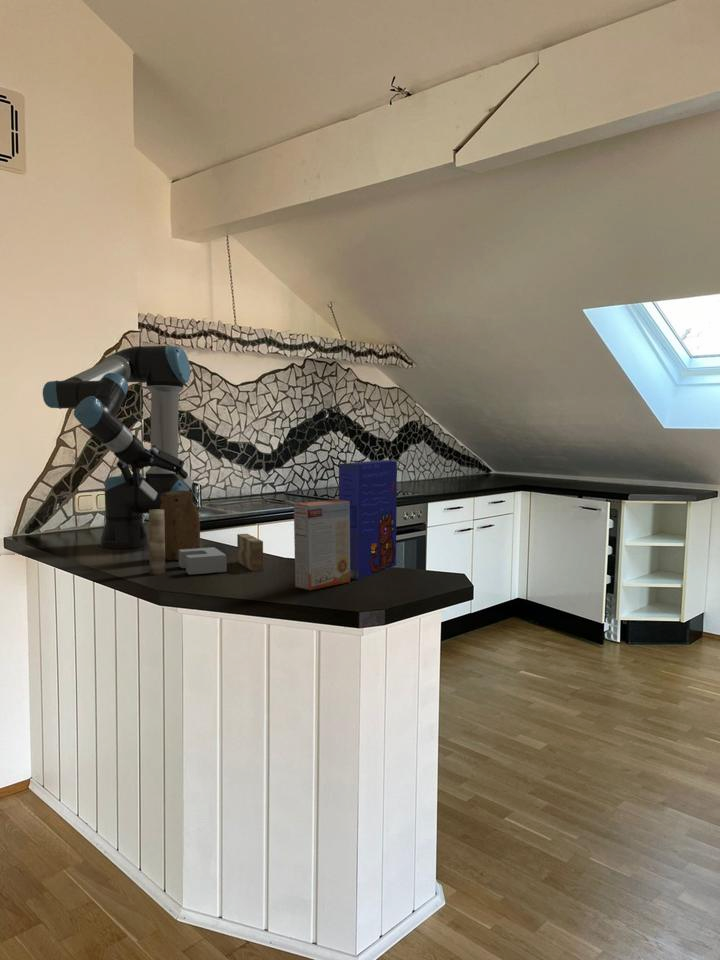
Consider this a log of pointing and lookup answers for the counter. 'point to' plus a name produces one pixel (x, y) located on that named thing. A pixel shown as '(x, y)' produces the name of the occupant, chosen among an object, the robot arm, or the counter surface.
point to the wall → (250, 552)
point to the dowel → (157, 541)
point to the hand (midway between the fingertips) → (173, 491)
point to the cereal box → (370, 514)
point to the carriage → (202, 560)
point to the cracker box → (322, 544)
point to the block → (180, 523)
